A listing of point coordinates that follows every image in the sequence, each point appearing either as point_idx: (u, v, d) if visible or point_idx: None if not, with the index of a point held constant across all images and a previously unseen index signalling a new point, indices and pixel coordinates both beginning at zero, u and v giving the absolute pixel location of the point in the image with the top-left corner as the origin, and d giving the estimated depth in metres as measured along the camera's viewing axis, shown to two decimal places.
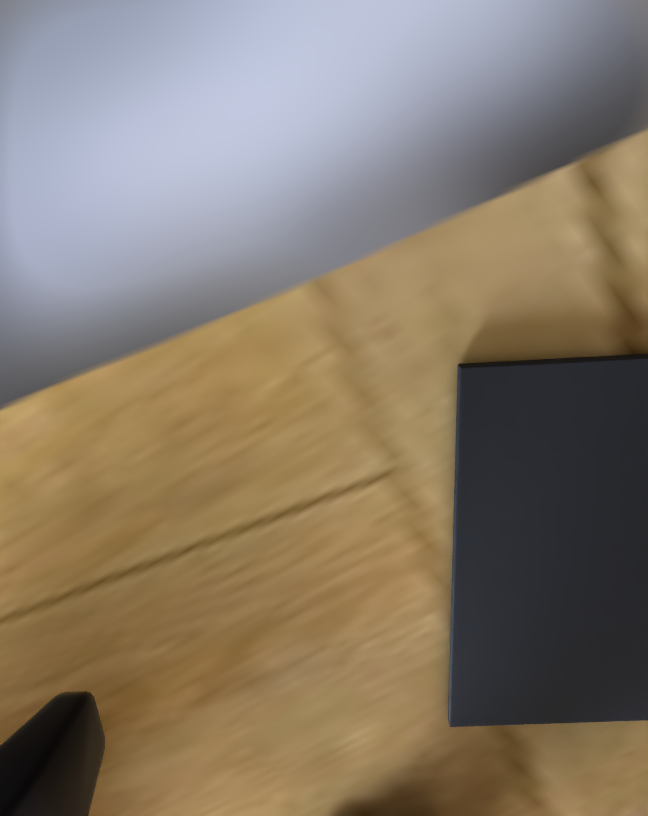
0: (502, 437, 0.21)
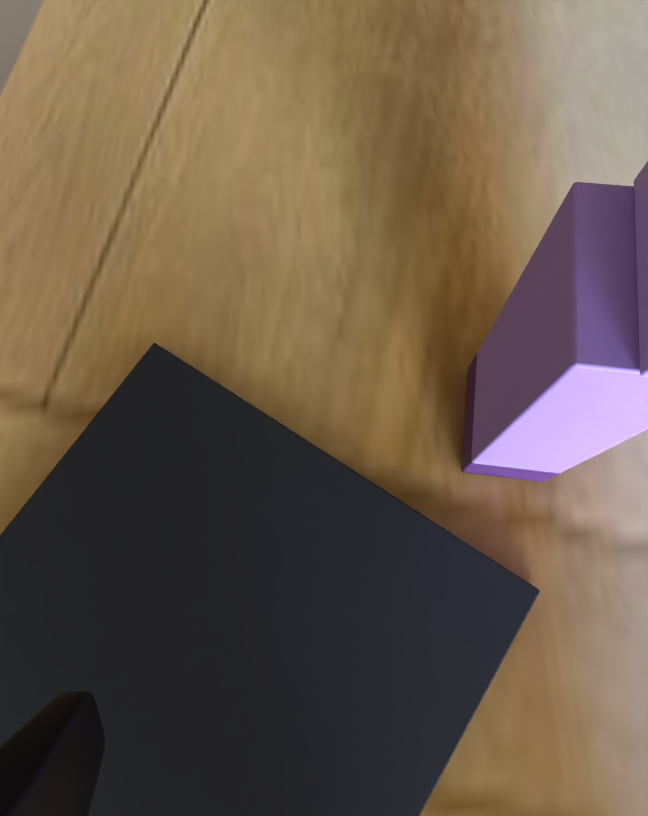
0: None
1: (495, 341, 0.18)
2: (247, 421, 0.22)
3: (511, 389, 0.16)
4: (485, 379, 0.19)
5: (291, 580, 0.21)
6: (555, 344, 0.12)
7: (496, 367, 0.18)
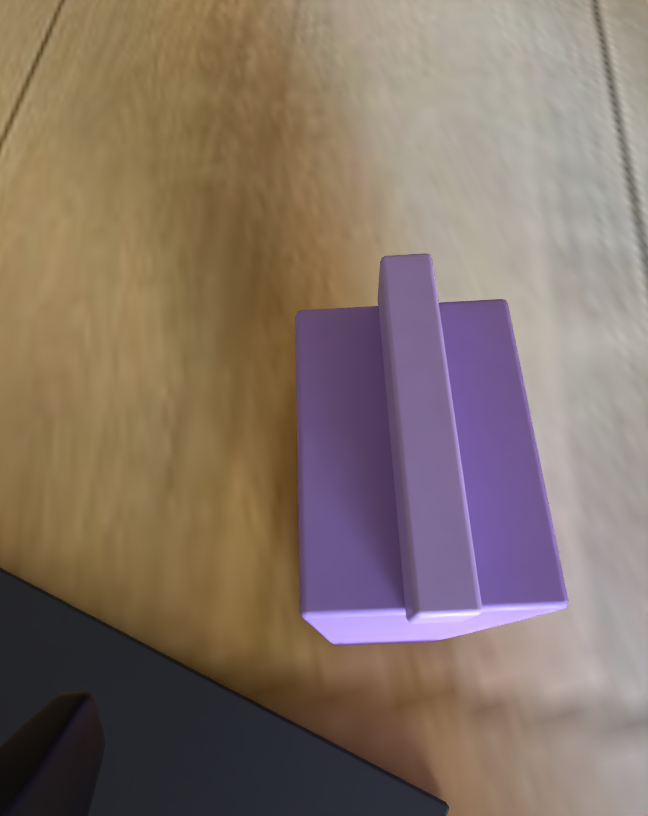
0: None
1: None
2: (50, 623, 0.17)
3: None
4: None
5: None
6: None
7: None
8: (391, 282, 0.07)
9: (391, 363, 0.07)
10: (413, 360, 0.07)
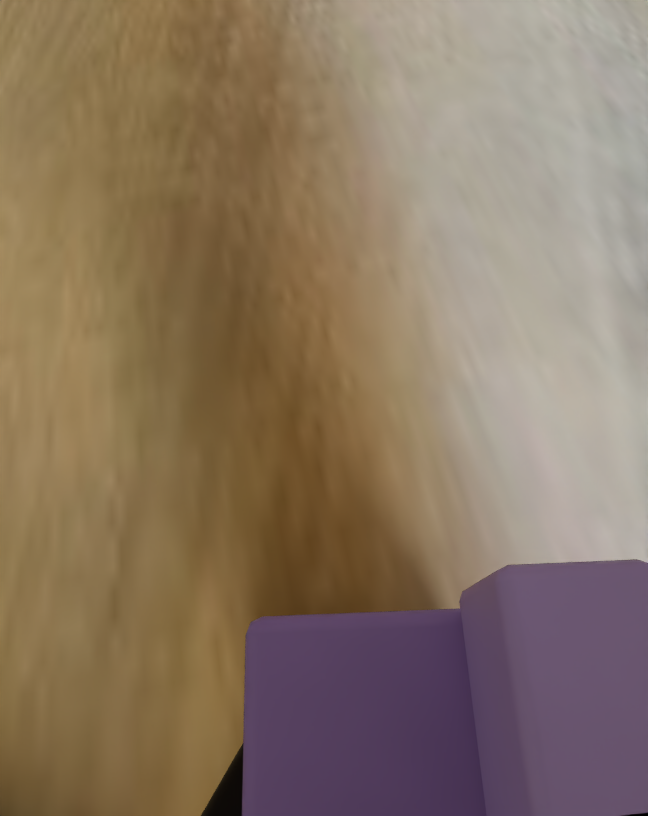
0: None
1: None
2: None
3: None
4: None
5: None
6: None
7: None
8: (542, 685, 0.02)
9: None
10: None
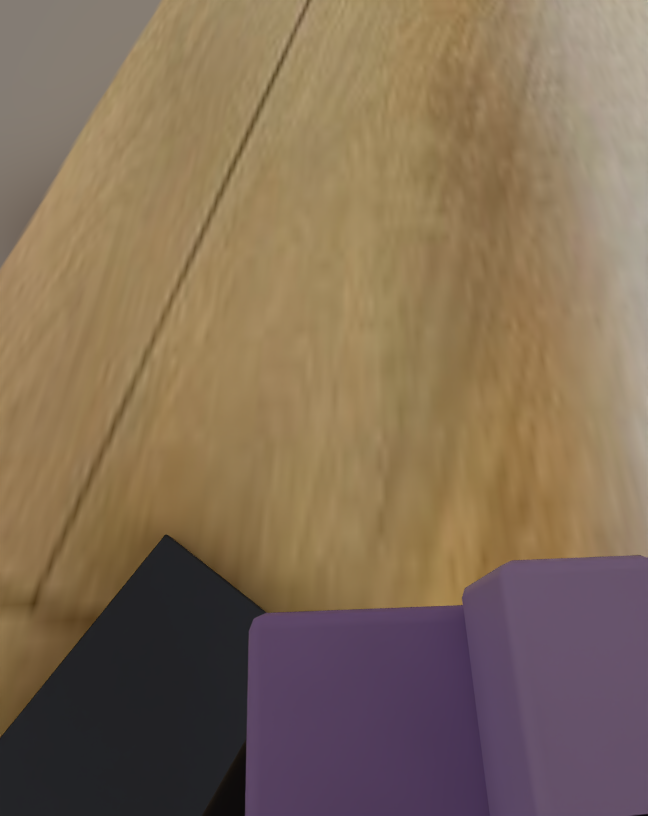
0: None
1: None
2: None
3: None
4: None
5: None
6: None
7: None
8: (545, 679, 0.02)
9: None
10: None
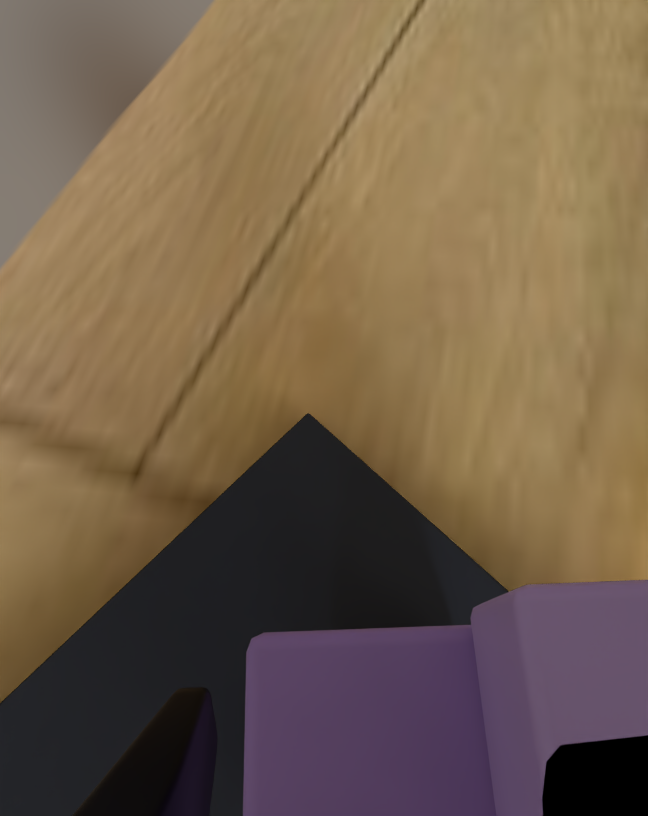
0: None
1: None
2: (437, 560, 0.14)
3: None
4: None
5: None
6: None
7: None
8: (564, 715, 0.02)
9: None
10: None
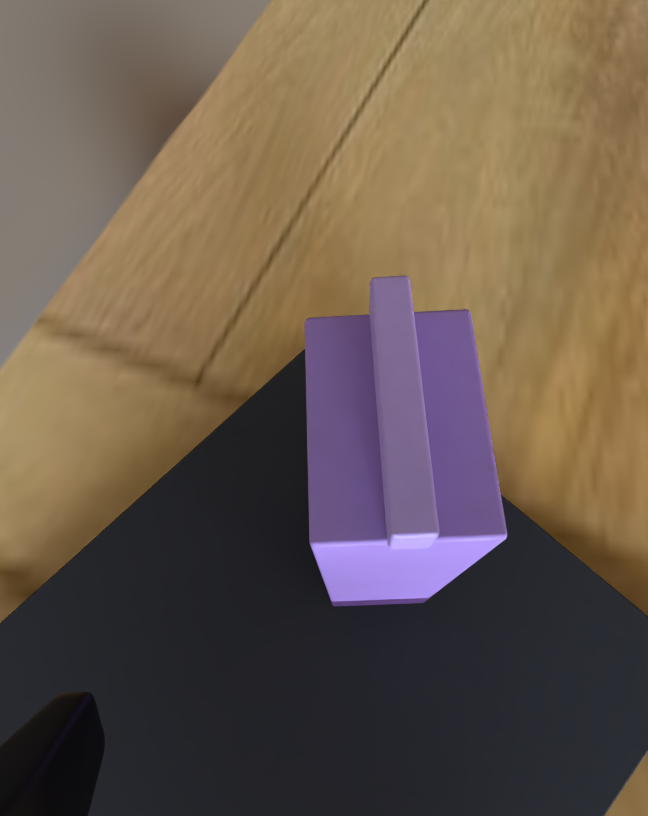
0: None
1: None
2: None
3: None
4: None
5: (430, 599, 0.19)
6: None
7: None
8: (378, 298, 0.10)
9: (377, 359, 0.09)
10: (393, 357, 0.09)
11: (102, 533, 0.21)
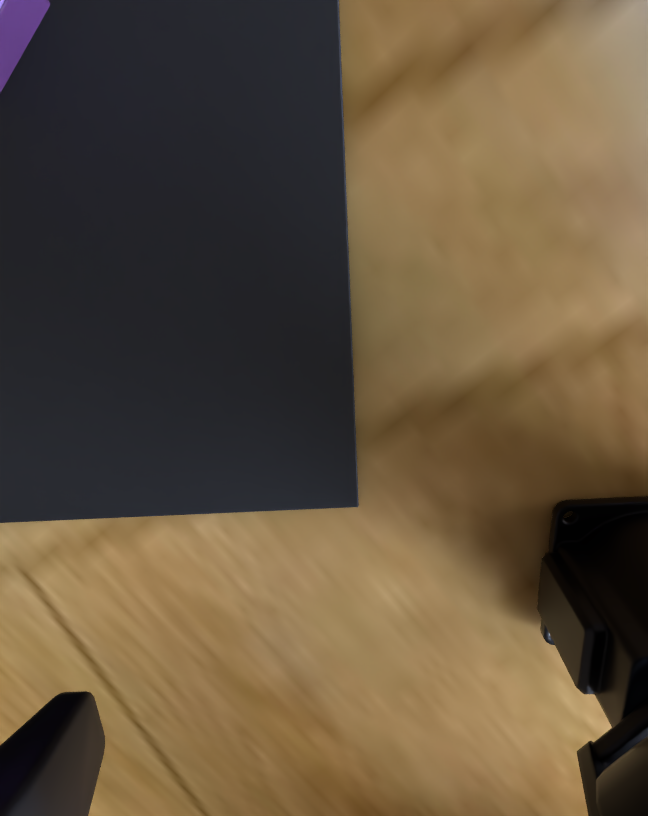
0: None
1: None
2: None
3: None
4: None
5: None
6: None
7: None
8: None
9: None
10: None
11: None
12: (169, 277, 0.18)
